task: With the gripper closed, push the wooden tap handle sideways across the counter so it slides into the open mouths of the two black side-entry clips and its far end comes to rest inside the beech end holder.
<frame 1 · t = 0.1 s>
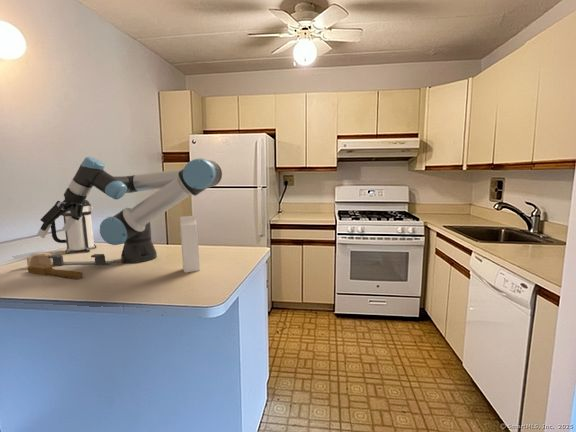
hand: (53, 233, 133), 15 cm above the counter, tool tilted 35°, fingers open, 13 cm apart
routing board: (71, 265, 138), on the counter
coffee press: (78, 251, 166), on the counter
tap handle: (54, 276, 125), on the counter
milk: (191, 270, 127), on the counter
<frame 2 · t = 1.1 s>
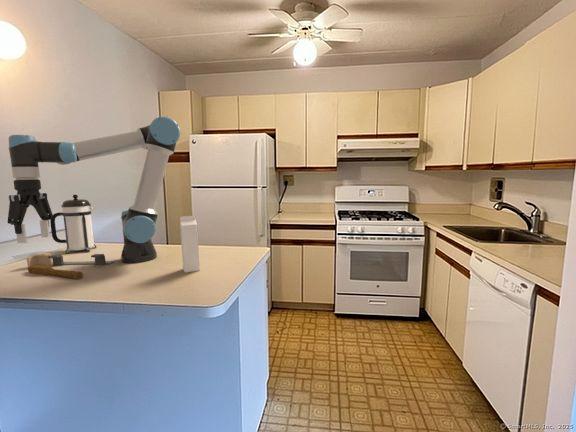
hand: (34, 239, 116), 16 cm above the counter, tool pointing down, fingers open, 10 cm apart
nothing on the counter moved.
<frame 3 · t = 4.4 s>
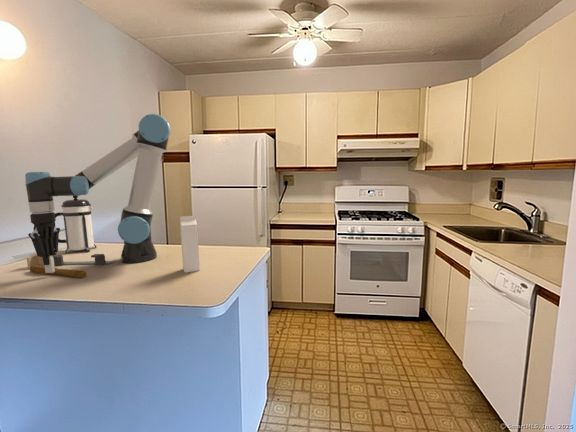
hand: (50, 272, 123), 2 cm above the counter, tool pointing down, fingers closed
tap handle: (57, 275, 126), on the counter, touching gripper
everything else where it was.
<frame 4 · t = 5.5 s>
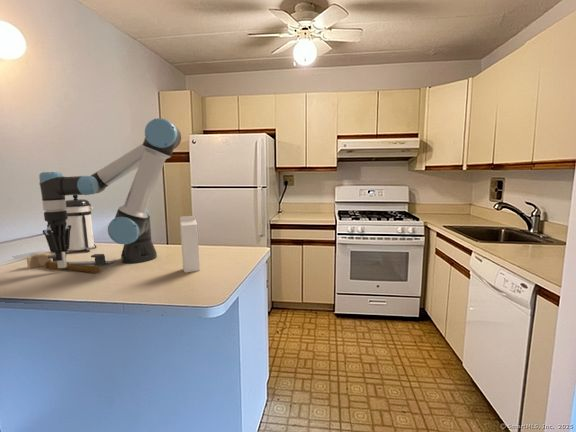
hand: (62, 267, 129), 2 cm above the counter, tool pointing down, fingers closed
tap handle: (71, 271, 131), on the counter
everything else where it was.
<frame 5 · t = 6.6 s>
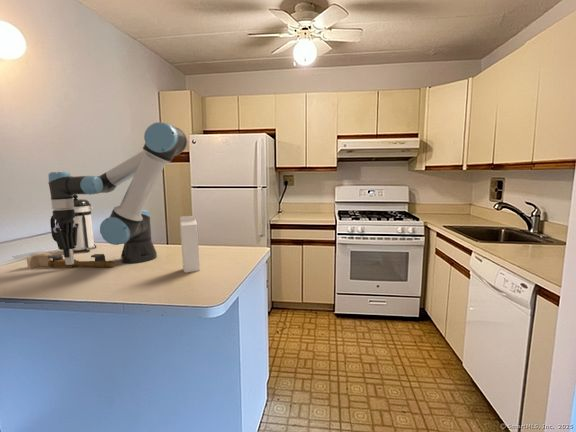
hand: (70, 264, 134), 2 cm above the counter, tool pointing down, fingers closed
tap handle: (81, 267, 136), on the counter, touching gripper, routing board
everything else where it was.
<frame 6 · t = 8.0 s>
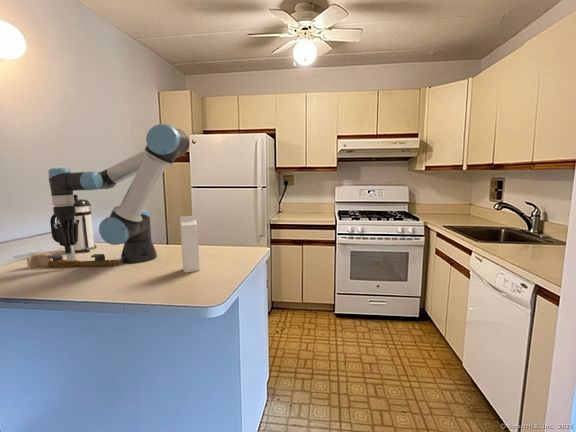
hand: (71, 260, 134), 3 cm above the counter, tool pointing down, fingers closed
tap handle: (82, 267, 137), on the counter
everything else where it was.
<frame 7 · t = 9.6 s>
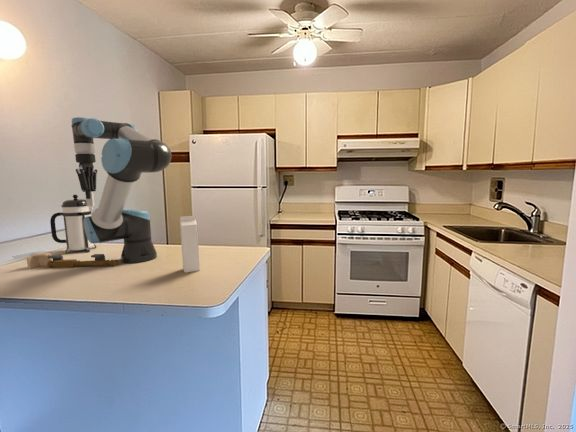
hand: (90, 205, 144), 25 cm above the counter, tool pointing down, fingers closed
nothing on the counter moved.
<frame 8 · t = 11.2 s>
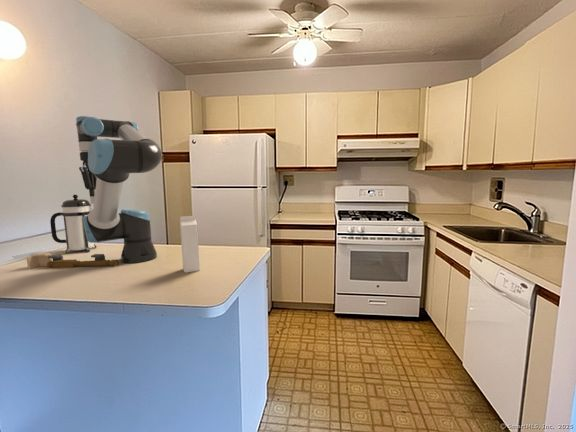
hand: (94, 203, 146), 26 cm above the counter, tool pointing down, fingers closed
nothing on the counter moved.
at the end: tap handle inside the target area (3.4 cm from its centre), on the counter; tap handle moved 12.3 cm from its start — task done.
